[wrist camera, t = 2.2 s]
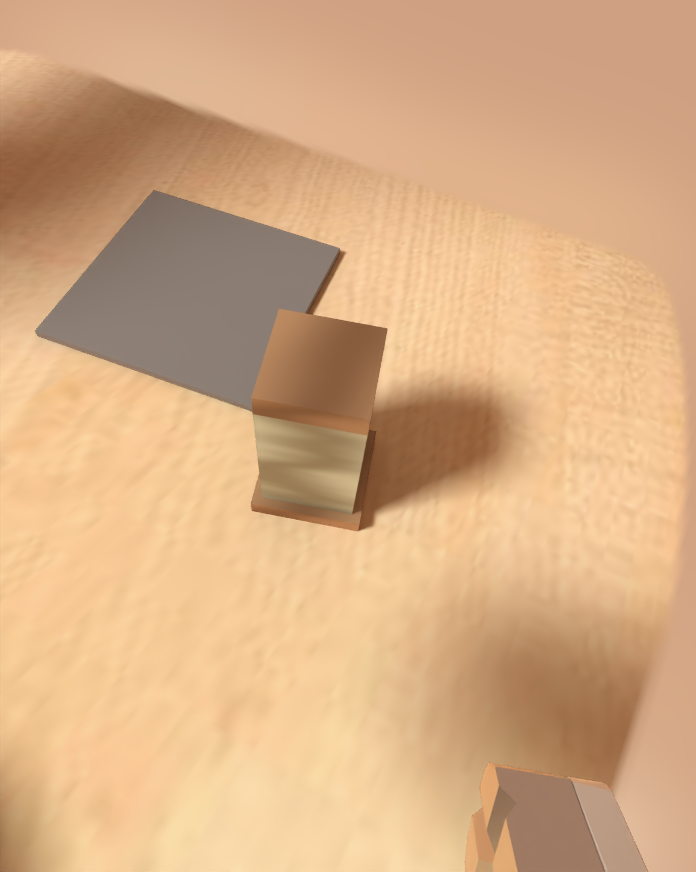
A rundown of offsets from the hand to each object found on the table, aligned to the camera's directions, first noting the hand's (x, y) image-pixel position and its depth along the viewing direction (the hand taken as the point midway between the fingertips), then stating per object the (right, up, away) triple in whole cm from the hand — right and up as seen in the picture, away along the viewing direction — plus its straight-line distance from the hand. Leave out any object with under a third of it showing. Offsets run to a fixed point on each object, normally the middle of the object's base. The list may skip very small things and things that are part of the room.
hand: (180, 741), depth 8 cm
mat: (-6, +12, +25) cm, 29 cm away
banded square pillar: (+1, +2, +20) cm, 20 cm away
